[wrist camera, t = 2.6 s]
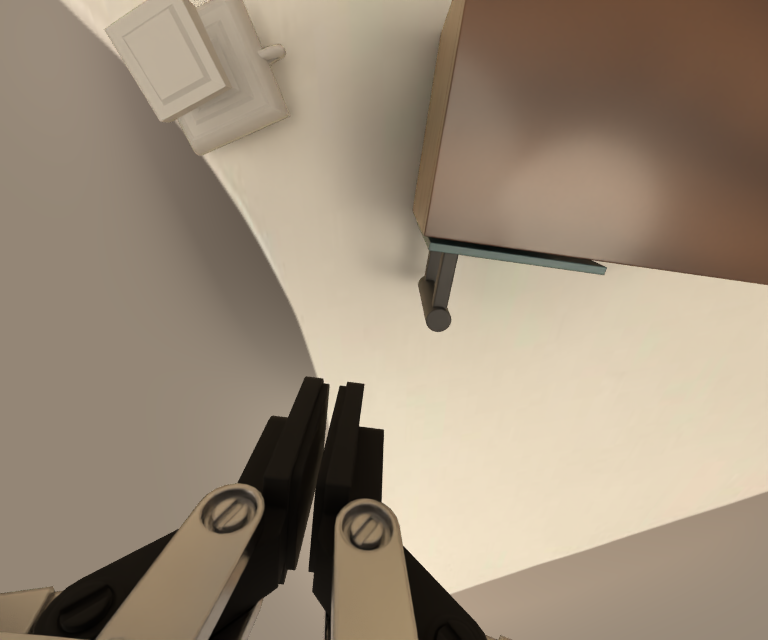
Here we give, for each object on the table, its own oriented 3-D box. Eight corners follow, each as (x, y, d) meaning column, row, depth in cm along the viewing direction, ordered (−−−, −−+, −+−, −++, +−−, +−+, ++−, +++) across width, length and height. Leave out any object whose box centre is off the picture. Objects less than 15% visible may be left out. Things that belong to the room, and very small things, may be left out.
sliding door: (517, 299, 29) (573, 358, 20) (406, 284, 28) (412, 337, 20) (536, 234, 27) (607, 267, 18) (417, 217, 27) (430, 242, 18)
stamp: (270, -1, 23) (206, -89, 15) (315, 113, 25) (281, 88, 17) (149, 62, 24) (33, 12, 16) (203, 164, 26) (123, 163, 19)
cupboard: (640, 244, 28) (783, 287, 18) (412, 211, 27) (423, 236, 17) (709, 75, 24) (947, 4, 14) (440, 32, 23) (478, -75, 13)
